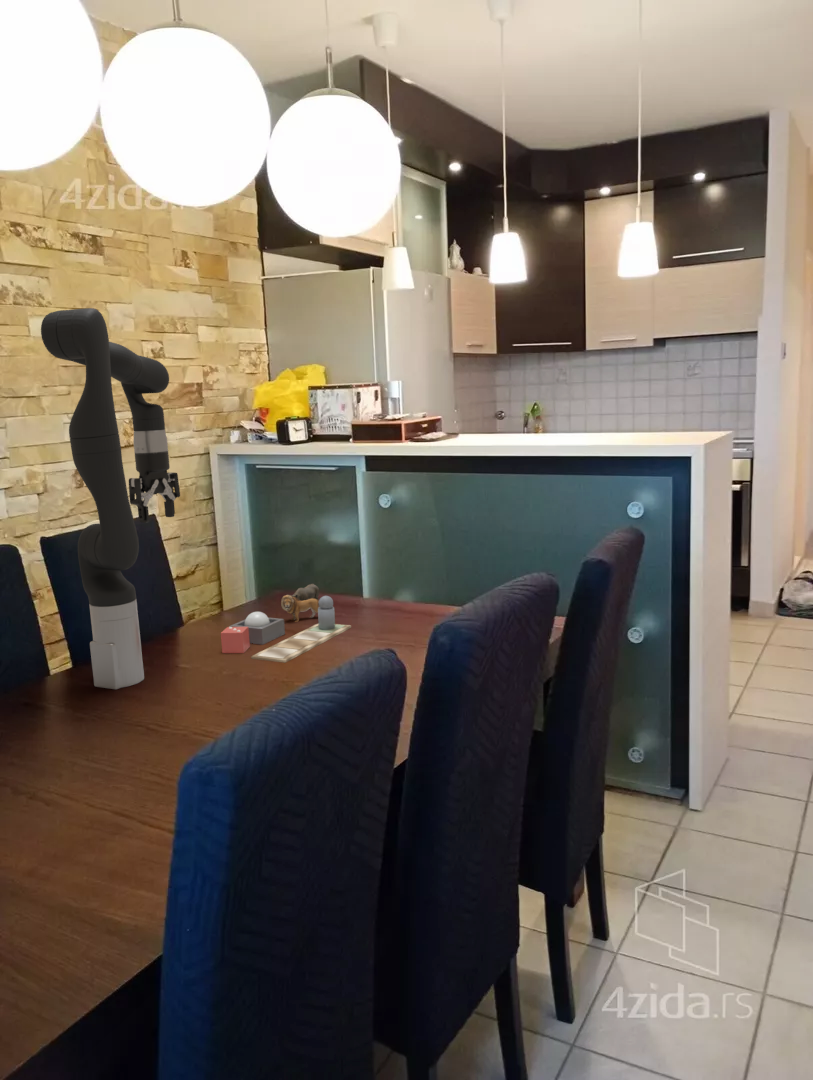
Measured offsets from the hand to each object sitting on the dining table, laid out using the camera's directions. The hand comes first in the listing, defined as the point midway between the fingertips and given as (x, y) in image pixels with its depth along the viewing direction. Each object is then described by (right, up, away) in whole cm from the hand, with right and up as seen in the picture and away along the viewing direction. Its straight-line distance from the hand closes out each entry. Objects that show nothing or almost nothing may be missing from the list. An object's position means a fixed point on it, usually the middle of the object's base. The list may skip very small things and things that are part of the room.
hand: (157, 519), depth 203 cm
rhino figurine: (+30, -24, +33) cm, 51 cm away
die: (+19, -30, -4) cm, 36 cm away
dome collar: (+23, -29, +6) cm, 37 cm away
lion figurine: (+32, -26, +21) cm, 46 cm away
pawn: (+39, -26, +9) cm, 48 cm away
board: (+34, -29, 0) cm, 45 cm away
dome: (+23, -28, +6) cm, 36 cm away
